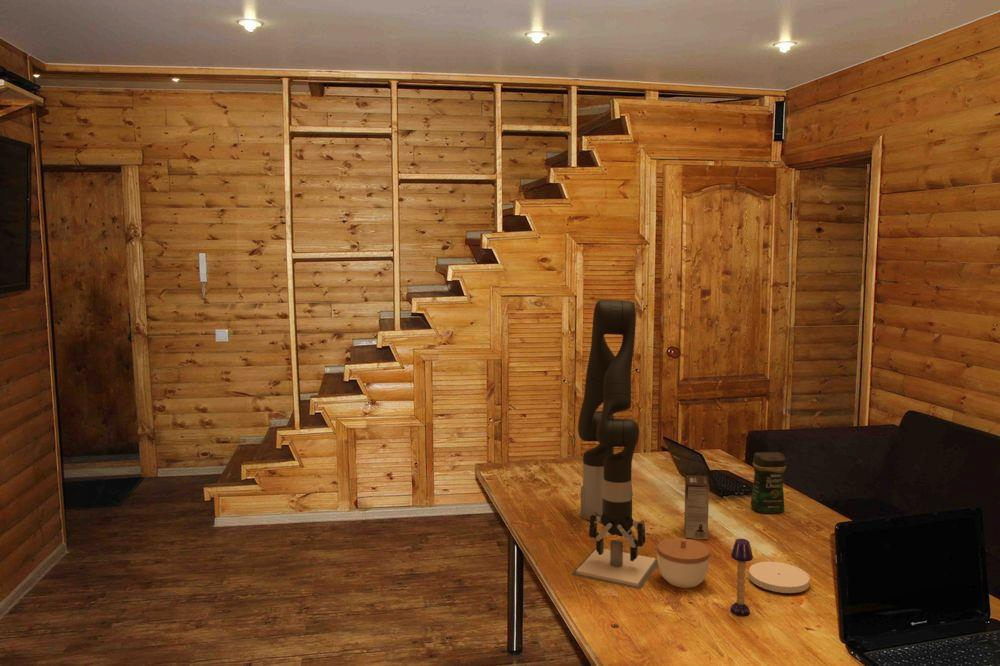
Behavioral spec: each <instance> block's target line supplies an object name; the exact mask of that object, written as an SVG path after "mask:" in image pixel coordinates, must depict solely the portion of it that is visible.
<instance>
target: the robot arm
mask: <svg viewBox="0 0 1000 666" xmlns="http://www.w3.org/2000/svg"><path fill="white" fill-rule="evenodd" d="M636 310H637V309H636V306H635V304H634V303H633V301H631V300H617V299H600V300H598V301H597V302H596V303H595V306H594V309H593V316H592V317H593V318H592V327H591V328H592V330H591V344H590V345H591V346H590V351H589V358H588V362H587V368H586V374H585V375H586V376H585V383H584V384H585V385H584V394H583V399H582V400H583V401H582V404H581V408H580V412H579V417H578V421H577V422H578V423H577V433H578V437H579V438H580V439H581V441H583V442H598V443H599V444H598V445H596V446H595V447H593V448H591V449H588V450H586V451H585V452H584V453H583V455H582V485H581V487H580V518H583V519H585V520H588V521H589V530H588V531H589V532H588V533H589V534H588V536H589V538H593V539H595V546H596V547H595V548H596V551H597V552H598V555H602V554H603V552H604V549H605V547H604V545H605V544H604V543H605V542H604V541H605V539H604V536H605V535H607V533H608V534H609V535H610V536H615V535H616V536H618V537H624V539H625V540H626V541H627V542H628V543H629V545H630V548H629V549H630V550H629V553H630V561H634V560H635V559H636V558H637V556H638V555H639V553H638V551H639V550H638V549H639V547H640V548H642V547H643V546H644V544H646V524H645V523H646V522H645V521H644V520H642V519H641V520H640V521H636V520H634V519H633V495H634V492H633V483H632V465H633V457H634V453H635V450H636V446H637V443H638V440H639V436H640V428H639V425H638V423H637V422H636V421H635V419H631V418H615V416H614V415H615V414H616V413H620V412H625V411H627V410H630V408H631V406H632V365H633V359H634V358H633V357H634V348H635V338H636V337H635V336H636V326H637V311H636ZM605 335H615V336H616V335H617V336H619V335H620V336H622V341H621V345H620V348H619V350H618V352H617V353H616V355H615V354H614V353H613V351H612V349H610V347H609V346H608V343H607V341H606V338H605ZM601 405H602V409H601V410H598V409H599V408H600V406H601ZM615 448H623V449H622V450H621V451H619V452H617V453H615V452H614V451H615V450H614V449H615ZM600 522H601V524H602V525H603V527H604V528H602V529H601V530H600V532H598V531H597V530H598V523H600ZM632 527H634V529H635V531H637V532H636V533H637V537H636V536H635V532H634V531H633V529H632Z"/></svg>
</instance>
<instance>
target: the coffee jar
mask: <svg viewBox="0 0 1000 666" xmlns="http://www.w3.org/2000/svg"><path fill="white" fill-rule="evenodd" d="M752 467H753V470H754V475H753V477H754V479H753V486H752V487H753V488H752V492H751V499H750V507H751V508H752V510H753V511H754V512H758V513H761V514H780V513H783V512H784V511H785V497H784V496H785V495H784V494H785V493H784V473H785V471H786V469H787V463H786V456H785V455H784V454H783V453H781V452H779V451H775V452H773V451H771V452H754V455H753V460H752Z"/></svg>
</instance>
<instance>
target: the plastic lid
mask: <svg viewBox="0 0 1000 666" xmlns="http://www.w3.org/2000/svg"><path fill="white" fill-rule="evenodd" d="M748 578H749V580H750V582H752V583H753V584H754V585H756V586H758V587H760V588H762V589H765V590H766V591H767V590H769V591H772V592H775V593H783V594H793V593H794V594H795V593H801V592H804V591H807V590H808V589H809V587H810V585H811V583H810V582H811V580H810V579H811V578H810V575H809V573H807V572H806V571H805V570H804V569H801V568H800V567H797V566H796V565H792V564H788V563H783V562H778V561H761V562H760V561H759V562H757V563H754V564H752V565H750V567H749V568H748Z"/></svg>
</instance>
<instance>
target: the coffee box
mask: <svg viewBox="0 0 1000 666" xmlns="http://www.w3.org/2000/svg"><path fill="white" fill-rule="evenodd" d="M684 476H685V481H684V533H685V534H684V535H685V536H684V537H685V538H699V539H698V540H701V539H708V536H709V503H710V502H709V501H710V500H709V498H710V496H709V495H710V484H709V479H708V475H690V474H689V475H684Z"/></svg>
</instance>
